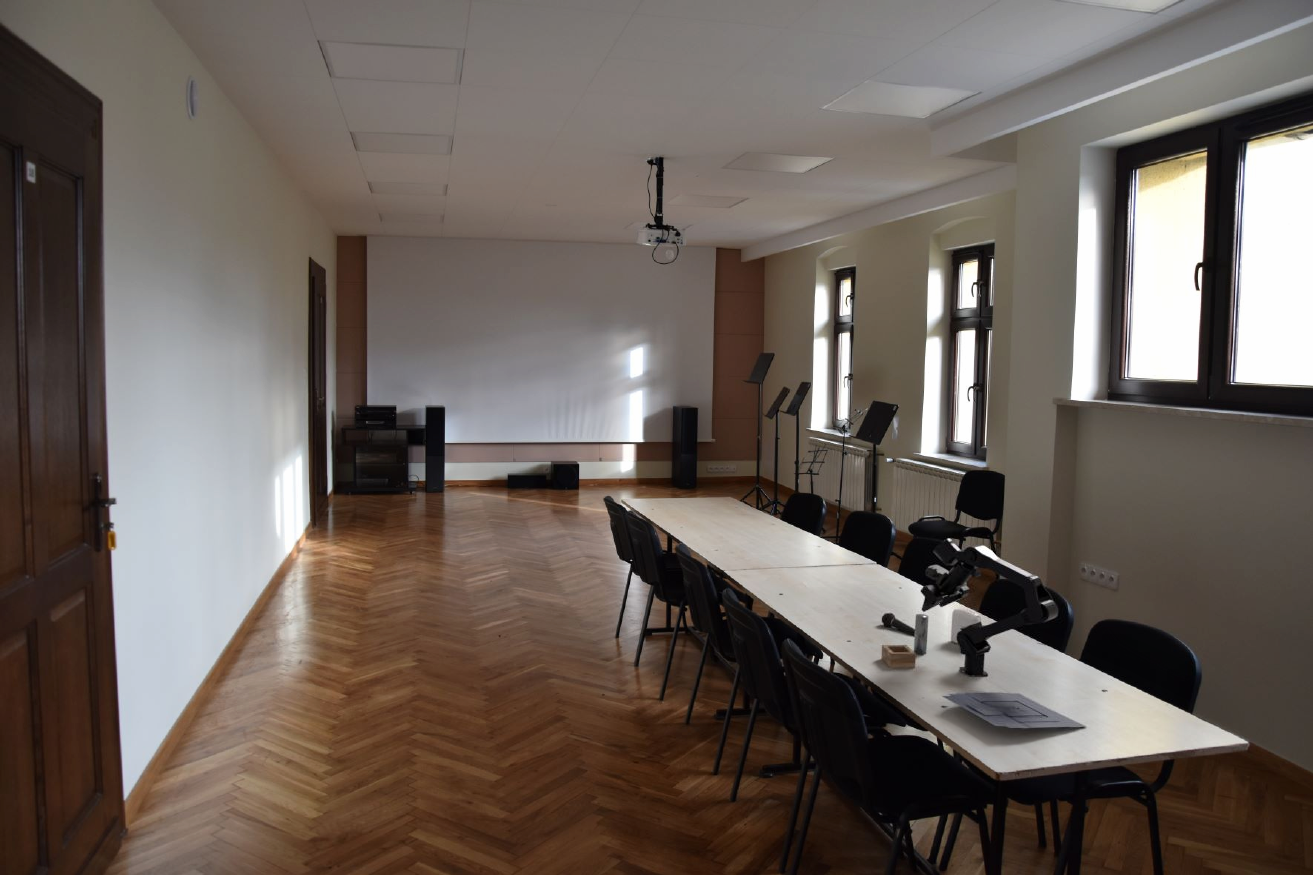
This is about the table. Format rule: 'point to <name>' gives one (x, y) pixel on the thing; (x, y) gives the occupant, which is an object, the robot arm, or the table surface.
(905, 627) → the microphone
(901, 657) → the socket block
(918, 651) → the pin
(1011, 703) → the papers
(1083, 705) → the table surface
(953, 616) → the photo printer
